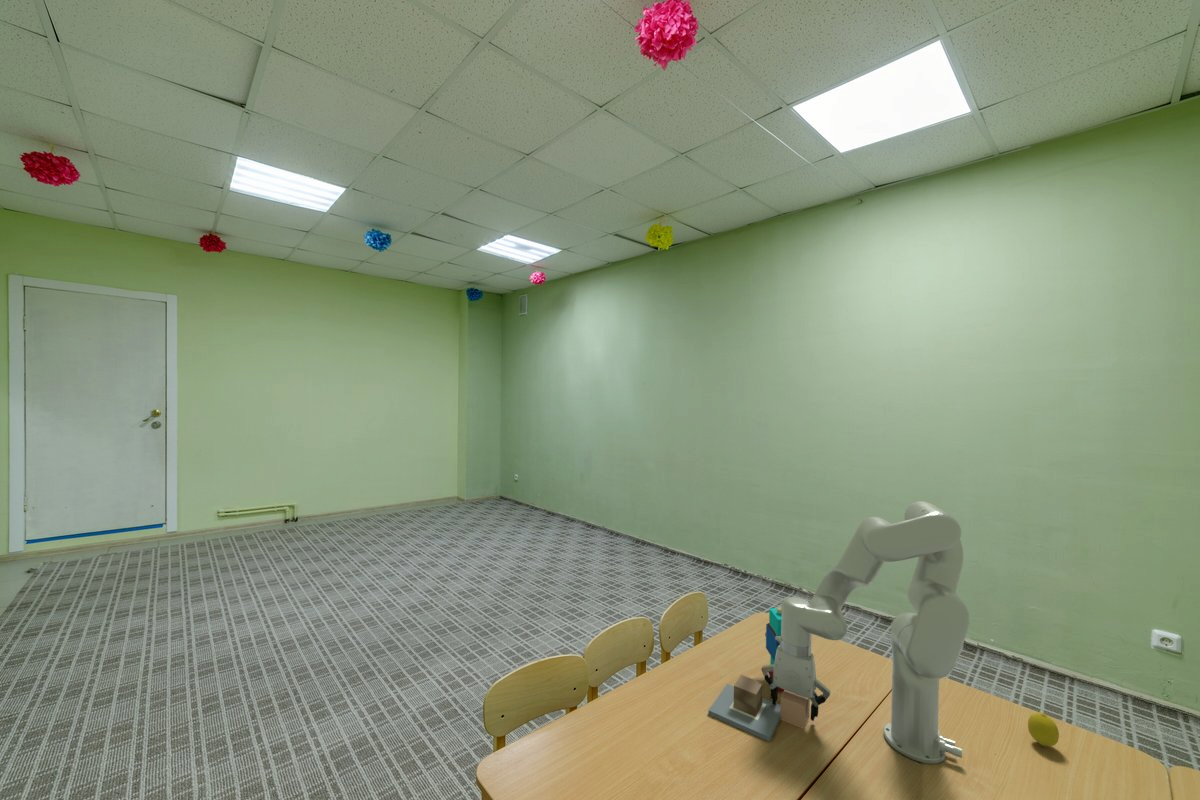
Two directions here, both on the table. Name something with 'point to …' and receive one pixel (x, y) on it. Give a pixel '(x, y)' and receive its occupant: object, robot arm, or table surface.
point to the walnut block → (748, 695)
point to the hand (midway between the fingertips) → (793, 709)
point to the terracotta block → (794, 709)
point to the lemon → (1043, 729)
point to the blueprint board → (746, 715)
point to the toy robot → (773, 634)
